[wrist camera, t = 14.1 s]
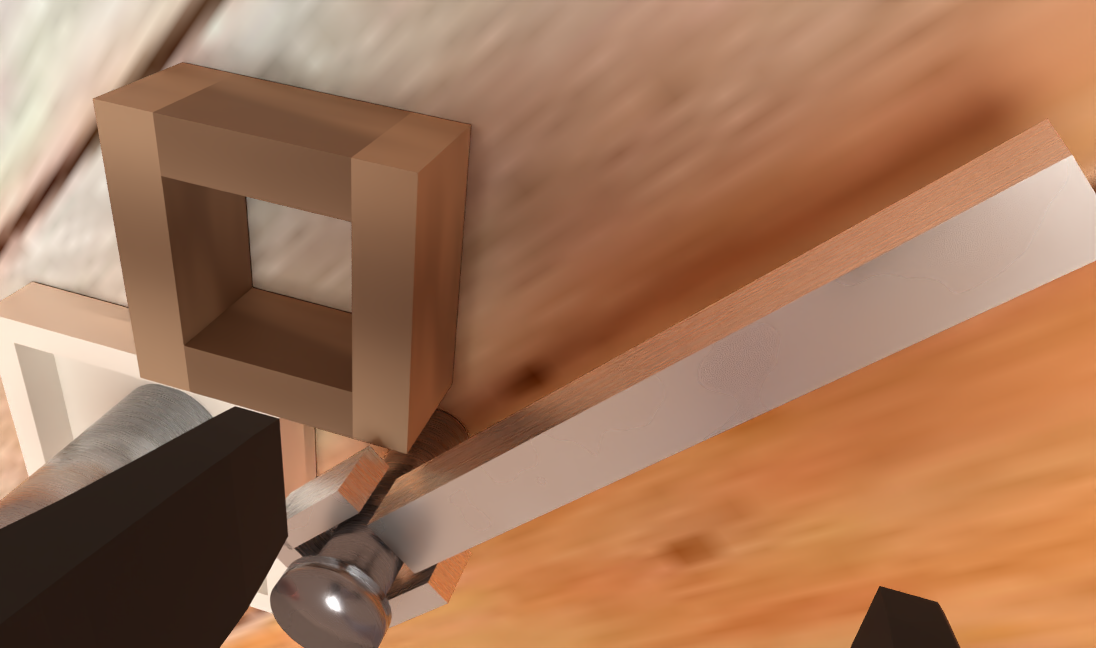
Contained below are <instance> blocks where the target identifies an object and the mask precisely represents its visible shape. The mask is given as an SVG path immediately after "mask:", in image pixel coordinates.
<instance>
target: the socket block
mask: <svg viewBox="0 0 1096 648" xmlns="http://www.w3.org/2000/svg"><path fill="white" fill-rule="evenodd" d="M93 103H94V109H95V115H96V121H97V126H98V132H99V138H100V144H101V150H102V156H103V162H104V167H105V173H106V179H107V185H108V191H109V197H110V203H111V209H112V214H113V220H114V226H115V232H116V238H117V244H118V250H119V255H120V261H121V267H122V273H123V279H124V285H125V291H126V297H127V302H128V308H129V314H130V320H131V326H132V332H133V338H134V343H135V349H136V355H137V361H138V367H139V373H140V378H143V379H147V380H150V381H154V382H157V383H161V384H164V385H168V386H171V387H175V388H178V389H182V390H185V391H189V392H192V393H195V394H199V395H202V396H206V397H209V398H213V399H216V400H220V401H223V402H227V403H230V404H234V405H237V406H241V407H244V408H248V409H251V410H255V411H258V412H262V413H265V414H269V415H272V416H276V417H279V418H283V419H286V420H290V421H293V422H297V423H300V424H304V425H307V426H311V427H314V428H318V429H321V430H325V431H328V432H332V433H335V434H339V435H342V436H346V437H349V438H353V439H356V440H360V441H363V442H367V443H370V444H374V445H377V446H381V447H384V448H388V449H391V450H395V451H398V452H402V453H405V454H407V453H408V452H409V450H410V448H411V447H412V445H413V444H414V442H415V441H416V439H417V438H418V436H419V434H420V433H421V431H422V430H423V428H424V427H425V425H426V424H427V422H428V421H429V419H430V417H431V416H432V414H433V413H434V411H435V410H436V408H437V407H438V405H439V404H440V402H441V400H442V399H443V397H444V396H445V394H446V393H447V391H448V390H449V388H450V386H451V385H452V379H453V365H454V352H455V338H456V324H457V310H458V297H459V283H460V269H461V255H462V242H463V228H464V214H465V200H466V186H467V173H468V159H469V145H470V131H471V125H469V124H464V123H460V122H455V121H451V120H446V119H441V118H437V117H432V116H427V115H423V114H418V113H414V112H409V111H404V110H400V109H395V108H391V107H386V106H381V105H377V104H372V103H367V102H363V101H358V100H354V99H349V98H344V97H340V96H335V95H330V94H326V93H321V92H317V91H312V90H307V89H303V88H298V87H293V86H289V85H284V84H280V83H275V82H270V81H266V80H261V79H256V78H252V77H247V76H243V75H238V74H233V73H229V72H224V71H219V70H215V69H210V68H206V67H201V66H196V65H192V64H187V63H180V64H177V65H175V66H172V67H170V68H167V69H165V70H162V71H160V72H157V73H155V74H152V75H150V76H147V77H145V78H143V79H140V80H138V81H135V82H133V83H130V84H128V85H125V86H123V87H120V88H118V89H115V90H113V91H111V92H108V93H106V94H103V95H101V96H98V97H96V98H93ZM245 196H246V197H250V198H254V199H259V200H263V201H267V202H271V203H275V204H279V205H283V206H288V207H292V208H296V209H300V210H304V211H308V212H312V213H316V214H321V215H325V216H329V217H333V218H337V219H341V220H345V221H350V222H352V314H351V313H347V312H344V311H340V310H336V309H332V308H328V307H324V306H321V305H317V304H313V303H309V302H305V301H301V300H297V299H294V298H290V297H286V296H282V295H278V294H274V293H271V292H267V291H263V290H259V289H255V288H252V277H251V265H250V252H249V239H248V226H247V213H246V200H245Z"/></svg>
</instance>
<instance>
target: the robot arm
mask: <svg viewBox="0 0 1096 648" xmlns="http://www.w3.org/2000/svg"><path fill="white" fill-rule="evenodd" d="M287 538H288V526H287V513H286V499H285V486H284V473H283V459H282V446H281V433H280V419H279V418H276V417H272V416H269V415H265V414H262V413H258V412H254V411H251V410H247V409H244V408H240V407H236V406H234V407H232V408H230V409H228V410H227V411H225V412H223V413H221V414H219V415H217V416H215V417H213V418H211V419H209V420H207V421H205V422H203V423H202V424H200V425H198V426H196V427H194V428H192V429H191V430H189V431H187V432H185V433H183V434H181V435H180V436H178V437H176V438H174V439H172V440H170V441H169V442H167V443H165V444H163V445H161V446H160V447H158V448H156V449H154V450H152V451H150V452H149V453H147V454H145V455H143V456H141V457H139V458H138V459H136V460H134V461H132V462H130V463H128V464H126V465H125V466H123V467H121V468H119V469H117V470H115V471H113V472H111V473H110V474H108V475H106V476H104V477H102V478H100V479H98V480H96V481H95V482H93V483H91V484H89V485H87V486H85V487H83V488H81V489H79V490H78V491H76V492H74V493H72V494H70V495H68V496H66V497H64V498H62V499H60V500H59V501H57V502H55V503H52V504H50V505H48V506H46V507H44V508H42V509H40V510H38V511H36V512H34V513H32V514H30V515H28V516H26V517H24V518H22V519H20V520H18V521H15V522H13V523H11V524H9V525H7V526H5V527H3V528H1V529H0V648H220V646H221V645H222V644H223V642H224V641H225V640H226V638H227V637H228V635H229V634H230V633H231V631H232V630H233V629H234V627H235V626H236V624H237V623H238V622H239V620H240V619H241V617H242V616H243V615H244V613H245V612H246V610H247V609H248V607H249V606H250V604H251V602H252V600H253V599H254V597H255V595H256V594H257V592H258V590H259V588H260V587H261V585H262V583H263V581H264V580H265V578H266V576H267V575H268V573H269V571H270V569H271V567H272V565H273V563H274V562H275V560H276V558H277V556H278V554H279V552H280V551H281V549H282V547H283V545H284V543H285V541H286V540H287ZM851 648H960V646H959V644H958V642H957V639H956V637H955V635H954V633H953V631H952V629H951V626H950V624H949V622H948V620H947V618H946V616H945V613H944V612H943V610H942V608H941V607H940V605H939V604H938V602H935V601H931V600H928V599H924V598H921V597H917V596H914V595H910V594H906V593H903V592H899V591H896V590H892V589H888V588H885V587H881V586H879V588H878V591H877V593H876V595H875V597H874V599H873V601H872V603H871V605H870V607H869V610H868V612H867V614H866V616H865V618H864V620H863V622H862V624H861V627H860V629H859V631H858V633H857V635H856V637H855V639H854V641H853V644H852V646H851Z"/></svg>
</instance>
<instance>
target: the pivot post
mask: <svg viewBox="0 0 1096 648" xmlns="http://www.w3.org/2000/svg"><path fill="white" fill-rule="evenodd" d="M466 440H468V435H467V433H466V430H465V429H464V427H463V426H462V424H461V423H460V422H459V421H458V420H457V419H456V418H454V417H453V416H451V415H450V414H448V413H446V412H443V411H440V410H435V411H434V413H433V414H432V416H431V417H430V419H429V421H428V422H427V424H426V425H425V427H424V428H423V430H422V431H421V433H420V434H419V436H418V438H417V439H416V441H415V442H414V444H413V445H412V447H411V448H410V450H409V452H408V453H407V454H405V453H402V452H398V451H395V450H391V449H389V451H388V452H387V454H386V455H385V457H384V458H383V461H384V462H385V463H386V464H387V465H388V466H389V468H388V470H387V471H386V473H385V474H384V476H383V477H382V479H381V480H380V482H379V483H378V485H377V487H376V488H375V490H374V491H373V493H372V494H371V496H370V497H369V499H368V500H367V502H366V503H365V505H364V506H363V508H362V509H361V511H360V512H359V513H358V514H356V515H354V516H352V517H351V518H349V519H347V520H345V521H343V522H341V523H339V525H338V526H337V528H336V529H335V531H334V532H333V534H332V535H331V537H330V538H329V540H328V541H327V543H326V544H325V546H324V547H323V548H322V550H321V551H320V553H319V554H318V555H312V556H305V557H301V558H299V559H297V560H295V561H293V562H292V563H291V564H290V565H289V566H288V568H287V569H286V571H285V572H284V573H283V575H282V576H281V578H280V579H279V581H278V582H277V583H276V585H275V586H274V588H273V589H272V592H271V595H270V606H271V610H272V613H273V615H274V617H275V619H276V621H277V622H278V624H279V625H280V626H281V628H282V629H283V630H284V631H285V632H286V633H287V634H288V635H289V636H290V637H291V638H292V639H293V640H294V641H296V642H297V643H298V644H299V645H301V646H303V647H304V648H378V647H379V645H380V643H381V641H382V639H383V637H384V636H385V634H386V632H387V630H388V628H389V626H390V623H391V619H392V611H391V607H390V604H389V601H388V599H387V597H386V594H387V593H388V591H389V589H390V587H391V585H392V584H393V582H394V580H395V578H396V576H397V575H398V573H399V571H400V569H401V567H402V566H403V564H404V562H403V561H402V560H401V559H400V558H399V557H398V556H397V555H396V554H395V553H394V552H393V551H392V550H391V549H390V548H389V547H388V546H387V545H386V544H385V543H384V542H383V541H382V540H381V539H380V538H379V537H378V536H377V535H376V534H375V533H374V532H373V531H372V530H371V529H370V528H369V527H368V526H367V524H368V523H369V521H370V520H371V518H372V517H373V515H374V513H375V512H376V510H377V509H378V507H379V506H380V504H381V502H382V501H383V499H384V498H385V496H386V495H387V493H388V492H389V490H390V488H391V487H392V485H393V484H394V482H395V481H396V479H397V478H399V477H401V476H402V475H404V474H406V473H408V472H410V471H412V470H413V469H415V468H417V467H419V466H421V465H422V464H424V463H426V462H428V461H430V460H431V459H433V458H435V457H437V456H439V455H440V454H442V453H444V452H446V451H448V450H449V449H451V448H453V447H455V446H457V445H458V444H460V443H462V442H464V441H466Z"/></svg>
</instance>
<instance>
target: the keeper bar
mask: <svg viewBox="0 0 1096 648" xmlns="http://www.w3.org/2000/svg"><path fill="white" fill-rule="evenodd" d="M1094 261H1096V194H1095V192H1094V190H1093V189H1092V187H1091V185H1090V184H1089V182H1088V180H1087V179H1086V177H1085V175H1084V174H1083V172H1082V170H1081V169H1080V167H1079V165H1078V164H1077V162H1076V160H1075V159H1074V157H1073V155H1072V154H1071V152H1070V151H1069V149H1068V148H1067V147H1066V145H1065V144H1064V142H1063V141H1062V139H1061V138H1060V136H1059V135H1058V133H1057V132H1056V130H1055V129H1054V128H1053V126H1052V125H1051V123H1050V122H1049V120H1048V119H1046V120H1044V121H1042V122H1040V123H1038V124H1037V125H1035V126H1033V127H1031V128H1029V129H1028V130H1026V131H1024V132H1022V133H1020V134H1019V135H1017V136H1015V137H1013V138H1011V139H1010V140H1008V141H1006V142H1004V143H1002V144H1001V145H999V146H997V147H995V148H993V149H992V150H990V151H988V152H986V153H984V154H982V155H981V156H979V157H977V158H975V159H973V160H972V161H970V162H968V163H966V164H964V165H963V166H961V167H959V168H957V169H955V170H954V171H952V172H950V173H948V174H946V175H945V176H943V177H941V178H939V179H937V180H936V181H934V182H932V183H930V184H928V185H926V186H925V187H923V188H921V189H919V190H917V191H916V192H914V193H912V194H910V195H908V196H907V197H905V198H903V199H901V200H899V201H898V202H896V203H894V204H892V205H890V206H889V207H887V208H885V209H883V210H881V211H879V212H878V213H876V214H874V215H872V216H870V217H869V218H867V219H865V220H863V221H861V222H860V223H858V224H856V225H854V226H852V227H851V228H849V229H847V230H845V231H843V232H842V233H840V234H838V235H836V236H834V237H833V238H831V239H829V240H827V241H825V242H823V243H822V244H820V245H818V246H816V247H814V248H813V249H811V250H809V251H807V252H805V253H804V254H802V255H800V256H798V257H796V258H795V259H793V260H791V261H789V262H787V263H786V264H784V265H782V266H780V267H778V268H777V269H775V270H773V271H771V272H769V273H767V274H766V275H764V276H762V277H760V278H758V279H757V280H755V281H753V282H751V283H749V284H748V285H746V286H744V287H742V288H740V289H739V290H737V291H735V292H733V293H731V294H730V295H728V296H726V297H724V298H722V299H720V300H719V301H717V302H715V303H713V304H711V305H710V306H708V307H706V308H704V309H702V310H701V311H699V312H697V313H695V314H693V315H692V316H690V317H688V318H686V319H684V320H683V321H681V322H679V323H677V324H675V325H674V326H672V327H670V328H668V329H666V330H664V331H663V332H661V333H659V334H657V335H655V336H654V337H652V338H650V339H648V340H646V341H645V342H643V343H641V344H639V345H637V346H636V347H634V348H632V349H630V350H628V351H627V352H625V353H623V354H621V355H619V356H618V357H616V358H614V359H612V360H610V361H608V362H607V363H605V364H603V365H601V366H599V367H598V368H596V369H594V370H592V371H590V372H589V373H587V374H585V375H583V376H581V377H580V378H578V379H576V380H574V381H572V382H571V383H569V384H567V385H565V386H563V387H561V388H560V389H558V390H556V391H554V392H552V393H551V394H549V395H547V396H545V397H543V398H542V399H540V400H538V401H536V402H534V403H533V404H531V405H529V406H527V407H525V408H524V409H522V410H520V411H518V412H516V413H515V414H513V415H511V416H509V417H507V418H505V419H504V420H502V421H500V422H498V423H496V424H495V425H493V426H491V427H489V428H487V429H486V430H484V431H482V432H480V433H478V434H477V435H475V436H473V437H471V438H469V439H468V440H466V441H464V442H462V443H460V444H458V445H457V446H455V447H453V448H451V449H449V450H448V451H446V452H444V453H442V454H440V455H439V456H437V457H435V458H433V459H431V460H430V461H428V462H426V463H424V464H422V465H421V466H419V467H417V468H415V469H413V470H412V471H410V472H408V473H406V474H404V475H402V476H401V477H399V478H397V479H396V481H395V482H394V484H393V485H392V487H391V488H390V490H389V492H388V493H387V495H386V496H385V498H384V499H383V501H382V502H381V504H380V506H379V507H378V509H377V510H376V512H375V513H374V515H373V517H372V518H371V520H370V521H369V523H368V524H367V526H368V527H369V528H370V529H371V530H372V531H373V532H374V533H375V534H376V535H377V536H378V537H379V538H380V539H381V540H382V541H383V542H384V543H385V544H386V545H387V546H388V547H389V548H390V549H391V550H392V551H393V552H394V553H395V554H396V555H397V556H398V557H399V558H400V559H401V560H402V561H403V562H404V564H403V566H402V567H401V569H400V571H399V573H398V575H397V576H396V578H395V580H394V582H393V584H392V585H391V587H390V589H389V591H388V593H387V594H386V597H387V599H388V601H389V604H390V607H391V611H392V619H391V623H390V626H389V628H390V627H393V626H395V625H398V624H400V623H402V622H405V621H407V620H409V619H412V618H414V617H417V616H419V615H421V614H424V613H426V612H428V611H431V610H433V609H436V608H438V607H440V606H443V605H445V604H447V603H448V602H449V600H450V598H451V596H452V594H453V592H454V589H455V587H456V585H457V583H458V581H459V579H460V577H461V575H462V573H463V570H464V568H465V566H466V564H467V562H468V560H469V558H470V556H471V554H472V553H471V552H470V551H469V550H468V549H470V548H472V547H474V546H476V545H478V544H481V543H483V542H485V541H487V540H489V539H491V538H494V537H496V536H498V535H500V534H502V533H504V532H507V531H509V530H511V529H513V528H515V527H517V526H520V525H522V524H524V523H526V522H528V521H531V520H533V519H535V518H537V517H539V516H541V515H544V514H546V513H548V512H550V511H552V510H554V509H557V508H559V507H561V506H563V505H565V504H567V503H570V502H572V501H574V500H576V499H578V498H581V497H583V496H585V495H587V494H589V493H591V492H594V491H596V490H598V489H600V488H602V487H604V486H607V485H609V484H611V483H613V482H615V481H618V480H620V479H622V478H624V477H626V476H628V475H631V474H633V473H635V472H637V471H639V470H641V469H644V468H646V467H648V466H650V465H652V464H654V463H657V462H659V461H661V460H663V459H665V458H668V457H670V456H672V455H674V454H676V453H678V452H681V451H683V450H685V449H687V448H689V447H691V446H694V445H696V444H698V443H700V442H702V441H704V440H707V439H709V438H711V437H713V436H715V435H718V434H720V433H722V432H724V431H726V430H728V429H731V428H733V427H735V426H737V425H739V424H741V423H744V422H746V421H748V420H750V419H752V418H755V417H757V416H759V415H761V414H763V413H765V412H768V411H770V410H772V409H774V408H776V407H778V406H781V405H783V404H785V403H787V402H789V401H791V400H794V399H796V398H798V397H800V396H802V395H805V394H807V393H809V392H811V391H813V390H815V389H818V388H820V387H822V386H824V385H826V384H828V383H831V382H833V381H835V380H837V379H839V378H841V377H844V376H846V375H848V374H850V373H852V372H855V371H857V370H859V369H861V368H863V367H865V366H868V365H870V364H872V363H874V362H876V361H878V360H881V359H883V358H885V357H887V356H889V355H892V354H894V353H896V352H898V351H900V350H902V349H905V348H907V347H909V346H911V345H913V344H915V343H918V342H920V341H922V340H924V339H926V338H928V337H931V336H933V335H935V334H937V333H939V332H942V331H944V330H946V329H948V328H950V327H952V326H955V325H957V324H959V323H961V322H963V321H965V320H968V319H970V318H972V317H974V316H976V315H978V314H981V313H983V312H985V311H987V310H989V309H992V308H994V307H996V306H998V305H1000V304H1002V303H1005V302H1007V301H1009V300H1011V299H1013V298H1015V297H1018V296H1020V295H1022V294H1024V293H1026V292H1029V291H1031V290H1033V289H1035V288H1037V287H1039V286H1042V285H1044V284H1046V283H1048V282H1050V281H1052V280H1055V279H1057V278H1059V277H1061V276H1063V275H1065V274H1068V273H1070V272H1072V271H1074V270H1076V269H1079V268H1081V267H1083V266H1085V265H1087V264H1089V263H1092V262H1094ZM388 468H389V466H388V465H387V464H386V463H385V462H384V461H383V459H382V458H381V457H380V456H379V455H378V454H377V453H376V452H375V451H374V450H373V449H372V448H371V447H370V446H368V447H367V448H365V449H363V450H362V451H360V452H358V453H356V454H355V455H353V456H351V457H350V458H348V459H346V460H345V461H343V462H341V463H340V464H338V465H336V466H335V467H333V468H331V469H330V470H328V471H326V472H325V473H323V474H321V475H320V476H318V477H316V478H315V479H313V480H311V481H310V482H308V483H306V484H305V485H303V486H301V487H300V488H298V489H296V490H295V491H293V492H291V493H290V494H289V496H288V497H287V498H286V513H287V526H288V538H287V540H286V541H285V543H284V545H283V547H282V549H281V551H280V552H279V554H278V556H277V558H278V559H279V560H280V561H281V562H282V563H283V564H284V565H285V566H286V567H287V568H288V566H289V565H290V564H291V563H292V562H293V561H295V560H297V559H299V558H301V557H305V556H312V555H318V554H319V553H320V551H321V550H322V548H323V547H324V546H325V544H326V543H327V541H328V540H329V538H330V537H331V535H332V534H333V532H334V531H335V529H336V528H337V526H338V525H339V523H341V522H343V521H345V520H347V519H349V518H351V517H352V516H354V515H356V514H358V513H359V512H360V511H361V509H362V508H363V506H364V505H365V503H366V502H367V500H368V499H369V497H370V496H371V494H372V493H373V491H374V490H375V488H376V487H377V485H378V483H379V482H380V480H381V479H382V477H383V476H384V474H385V473H386V471H387V470H388Z"/></svg>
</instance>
